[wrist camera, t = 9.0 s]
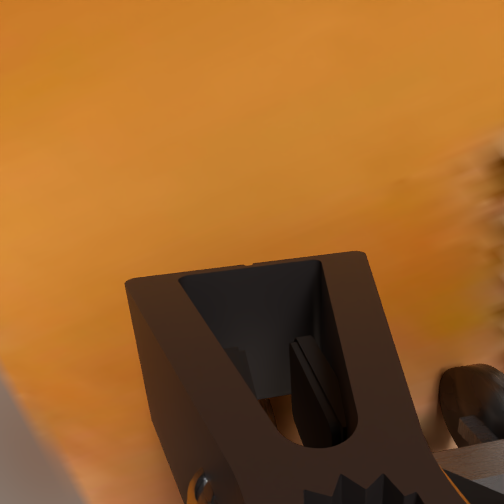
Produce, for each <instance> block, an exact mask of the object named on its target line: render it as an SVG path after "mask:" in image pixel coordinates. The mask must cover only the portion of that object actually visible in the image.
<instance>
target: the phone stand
mask: <svg viewBox="0 0 504 504" xmlns="http://www.w3.org/2000/svg"><path fill="white" fill-rule="evenodd" d="M125 288H126V293H127V298H128V303H129V308H130V313H131V319H132V324H133V329H134V334H135V339H136V344H137V349H138V354H139V359H140V364H141V369H142V374H143V379H144V384H145V389H146V394H147V399H148V404H149V409H150V414H151V419H152V422H153V424H154V427H155V430H156V432H157V435H158V437H159V440H160V442H161V445H162V447H163V450H164V453H165V455H166V458H167V460H168V463H169V465H170V468H171V471H172V473H173V476H174V478H175V481H176V483H177V486H178V488H179V491H180V494H181V496H182V499H183V501H184V504H187V492H188V487H189V483H190V481H191V479H192V478H193V476H194V474H195V473H196V472H197V471H198V470H199V469H200V468H202V467H203V469H204V471H205V477H206V481H207V482H208V481H209V483H210V485H211V487H212V489H213V491H214V496H215V498H216V500H217V502H218V504H467V503H466V502H465V501H464V500H463V498H462V497H461V496H460V495H459V494H458V492H457V491H456V489H455V488H454V487H453V485H452V484H451V483H450V481H449V480H448V478H447V477H446V475H445V474H444V472H443V471H442V469H441V468H440V466H439V465H438V463H437V461H436V460H435V458H434V456H433V454H432V452H431V450H430V448H429V446H428V444H427V442H426V440H425V437H424V435H423V432H422V429H421V426H420V423H419V420H418V417H417V414H416V411H415V408H414V404H413V401H412V398H411V395H410V392H409V389H408V385H407V382H406V379H405V376H404V373H403V370H402V367H401V363H400V360H399V357H398V354H397V351H396V348H395V345H394V341H393V338H392V335H391V332H390V329H389V326H388V322H387V319H386V316H385V313H384V310H383V307H382V304H381V300H380V297H379V294H378V291H377V288H376V285H375V282H374V278H373V275H372V272H371V269H370V266H369V263H368V260H367V256H366V254H365V253H364V252H360V251H350V252H342V253H334V254H326V255H318V256H310V257H301V258H293V259H285V260H277V261H269V262H261V263H253V265H250V266H245V265H237V266H228V267H220V268H212V269H204V270H196V271H188V272H180V273H172V274H164V275H155V276H147V277H139V278H133V279H130V280H128V281H126V282H125ZM310 335H311V336H312V337H313V338H314V340H315V342H316V343H317V345H318V347H319V348H320V350H321V352H322V353H323V355H324V356H325V358H326V360H327V361H328V363H329V365H330V366H331V368H332V370H333V371H334V373H335V375H336V376H337V378H338V383H339V388H340V393H341V398H342V404H343V409H344V414H345V419H346V424H347V440H346V441H344V442H343V443H341V444H339V445H336V446H333V447H328V448H309V447H304V446H300V445H298V444H295V443H293V442H291V441H289V440H288V439H286V438H285V437H284V436H282V435H281V434H280V433H279V432H278V430H277V429H276V428H275V426H274V425H273V423H272V422H271V420H270V419H269V417H268V415H267V414H266V412H265V411H264V409H263V408H262V406H261V405H260V403H259V402H258V400H259V399H265V398H271V397H277V396H283V395H288V394H291V377H290V356H289V343H293V342H294V339H295V338H296V337H303V336H310ZM237 346H238V349H239V351H241V350H245V352H246V356H247V360H248V364H249V368H250V372H251V376H252V380H253V384H254V388H255V392H256V396H257V399H256V397H255V396H254V394H253V393H252V391H251V390H250V388H249V387H248V385H247V384H246V382H245V381H244V379H243V378H242V376H241V375H240V373H239V372H238V370H237V369H236V367H235V366H234V364H233V363H232V361H231V360H230V358H229V357H228V355H227V354H226V352H225V351H224V348H230V347H237Z"/></svg>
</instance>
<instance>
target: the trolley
mask: <svg viewBox="0 0 504 504" xmlns="http://www.w3.org/2000/svg"><path fill="white" fill-rule="evenodd" d="M439 393H440V404H441V409H442V413H443V416H444V419H445V422H446V425H447V427H448V430H449V432H450V434H451V436H452V438H453V440H454V441H455V443H456V445H457V446H458V448H456V449H450V450H445V451H440V452H435V453H432V454H433V456H434V458H435V460H436V461H437V463H438V464H439V466H440V467H441V468H443V469H445V470H448V471H450V472H452V473H455V474H457V475H459V476H462V477H464V478H466V479H469V480H471V481H474V482H476V483H478V484H481V485H483V486H485V487H488V488H490V489H492V490H495V491H497V492H499V493H502V494H504V374H503V373H502V372H500V371H499V370H497V369H496V368H494V367H492V366H489V365H486V364H473V365H467V366H461V367H455V368H451V369H449V370H447V371H446V372H445V373H444V375H443V377H442V379H441V382H440V391H439ZM258 402H259V403H260V405H261V406H262V408H263V409H264V411H265V412H266V414H267V415H268V417H269V419H270V420H271V422H272V423H273V425H274V426H275V428H276V429H277V426H276V421H275V417H274V414H273V410H272V407H271V404H270V402H269V400H268V399H261V400H258Z"/></svg>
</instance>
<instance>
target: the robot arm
mask: <svg viewBox="0 0 504 504" xmlns="http://www.w3.org/2000/svg"><path fill="white" fill-rule="evenodd" d="M224 351H225V352H226V354H227V355H228V357H229V358H230V360H231V361H232V363H233V364H234V366H235V367H236V369H237V370H238V372H239V373H240V375H241V376H242V378H243V379H244V381H245V382H246V384H247V385H248V387H249V388H250V390H251V391H252V393H253V394H254V396H255V397H256V399H257V396H256V392H255V388H254V384H253V380H252V376H251V372H250V368H249V364H248V360H247V356H246V352H245V350H241V351H239V349H238V346H237V347H230V348H224ZM289 356H290V377H291V398H292V412H293V417H294V421H295V424H296V427H297V429H298V432H299V435H300V438H301V440H302V443H303V446H304V447H309V448H328V447H333V446H336V445H339V444H341V443H343V442H344V441H346V440H347V424H346V419H345V414H344V409H343V404H342V398H341V393H340V388H339V383H338V378H337V376H336V375H335V373H334V371H333V370H332V368H331V366H330V365H329V363H328V361H327V360H326V358H325V356H324V355H323V353H322V352H321V350H320V348H319V347H318V345H317V343H316V342H315V340H314V338H313V337H312V336H311V335H310V336H303V337H296V338H295V339H294V342H293V343H289ZM438 465H439V464H438ZM440 468H441V467H440ZM441 469H442V471H443V472H444V474H445V475H446V477H447V478H448V480H449V481H450V483H451V484H452V485H453V487H454V488H455V489H456V491H457V492H458V494H459V495H460V496H461V497H462V498H463V500H464V501H465V502H466V503H467V504H504V494H502V493H499V492H497V491H495V490H492V489H490V488H488V487H485V486H483V485H481V484H478V483H476V482H474V481H471V480H469V479H466V478H464V477H462V476H459V475H457V474H455V473H452V472H450V471H448V470H445V469H443V468H441ZM187 504H218V502H217V500H216V498H215V496H214V491H213V489H212V487H211V485H210V483H209V481H208V482H207V481H206V477H205V471H204V469H203V467H202V468H200V469H199V470H198V471H197V472H196V473H195V474H194V476H193V478H192V479H191V481H190V483H189V487H188V492H187Z"/></svg>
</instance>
